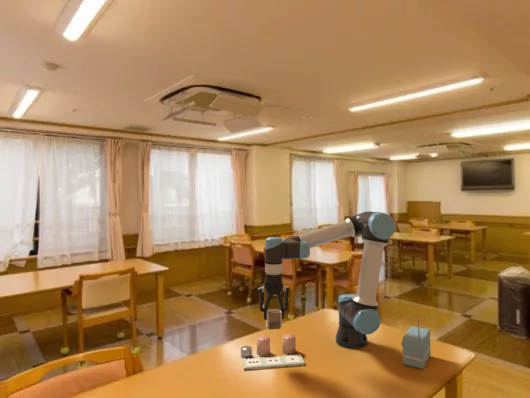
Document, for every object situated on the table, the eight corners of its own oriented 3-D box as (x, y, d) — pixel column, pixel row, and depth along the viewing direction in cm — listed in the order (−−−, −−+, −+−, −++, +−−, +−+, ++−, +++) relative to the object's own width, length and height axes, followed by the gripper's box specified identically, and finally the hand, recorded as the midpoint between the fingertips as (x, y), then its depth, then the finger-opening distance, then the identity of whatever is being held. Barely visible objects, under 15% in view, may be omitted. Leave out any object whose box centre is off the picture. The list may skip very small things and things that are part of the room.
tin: (251, 354, 159) (251, 345, 159) (252, 359, 154) (252, 350, 154) (240, 355, 158) (240, 346, 158) (241, 360, 153) (241, 350, 153)
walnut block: (280, 328, 148) (280, 312, 148) (269, 329, 148) (268, 313, 148) (278, 324, 153) (278, 308, 153) (267, 325, 153) (267, 309, 153)
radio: (409, 351, 158) (408, 307, 158) (430, 356, 153) (429, 311, 153) (400, 365, 145) (399, 317, 145) (423, 371, 140) (422, 321, 140)
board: (300, 356, 155) (300, 353, 155) (304, 365, 147) (304, 362, 147) (242, 361, 152) (242, 358, 152) (243, 370, 144) (243, 367, 144)
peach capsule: (294, 348, 164) (293, 333, 164) (296, 354, 158) (296, 338, 158) (281, 349, 163) (281, 334, 163) (284, 355, 157) (283, 339, 157)
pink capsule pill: (269, 350, 162) (268, 335, 162) (270, 356, 156) (270, 340, 156) (256, 351, 162) (256, 336, 162) (257, 357, 156) (257, 341, 156)
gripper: (292, 270, 155) (292, 322, 155) (252, 271, 153) (252, 324, 153) (295, 274, 148) (296, 328, 148) (254, 275, 145) (254, 331, 145)
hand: (273, 326), depth 150 cm, fingers closed on walnut block, 5 cm apart
